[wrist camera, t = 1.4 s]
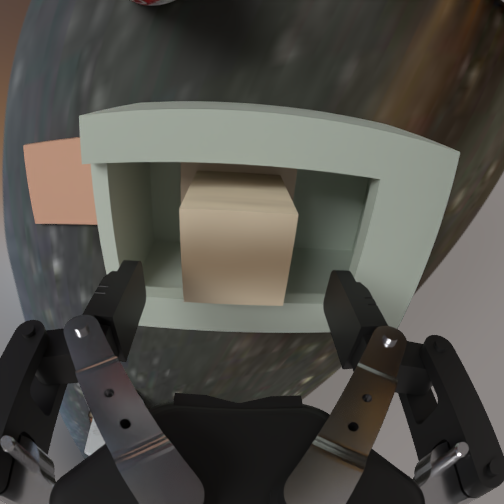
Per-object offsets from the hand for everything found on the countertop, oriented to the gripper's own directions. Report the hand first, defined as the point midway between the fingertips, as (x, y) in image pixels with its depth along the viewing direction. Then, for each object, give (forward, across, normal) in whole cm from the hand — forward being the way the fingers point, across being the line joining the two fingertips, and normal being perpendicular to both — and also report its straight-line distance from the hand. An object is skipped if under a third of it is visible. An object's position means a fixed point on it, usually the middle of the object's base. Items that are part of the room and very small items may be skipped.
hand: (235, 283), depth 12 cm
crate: (+13, -2, 0) cm, 14 cm away
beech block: (+7, 0, 0) cm, 7 cm away
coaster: (+13, +16, 0) cm, 21 cm away
